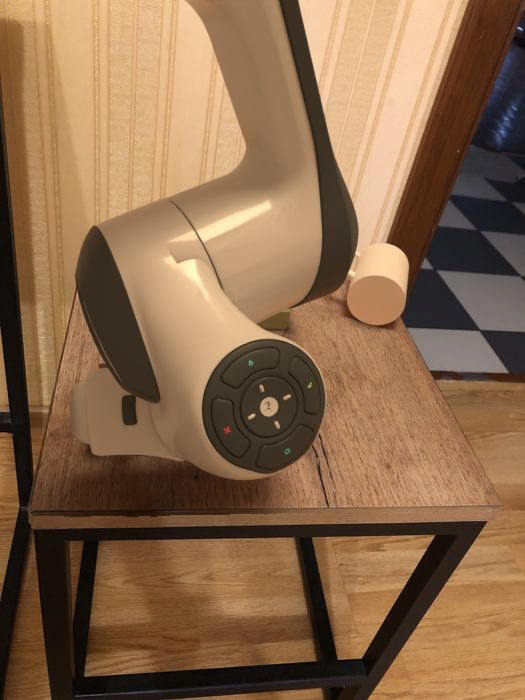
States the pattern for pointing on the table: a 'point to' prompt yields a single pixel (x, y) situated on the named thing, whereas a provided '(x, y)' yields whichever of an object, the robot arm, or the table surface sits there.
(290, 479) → the table surface
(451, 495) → the table surface
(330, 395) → the table surface
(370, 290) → the cup
